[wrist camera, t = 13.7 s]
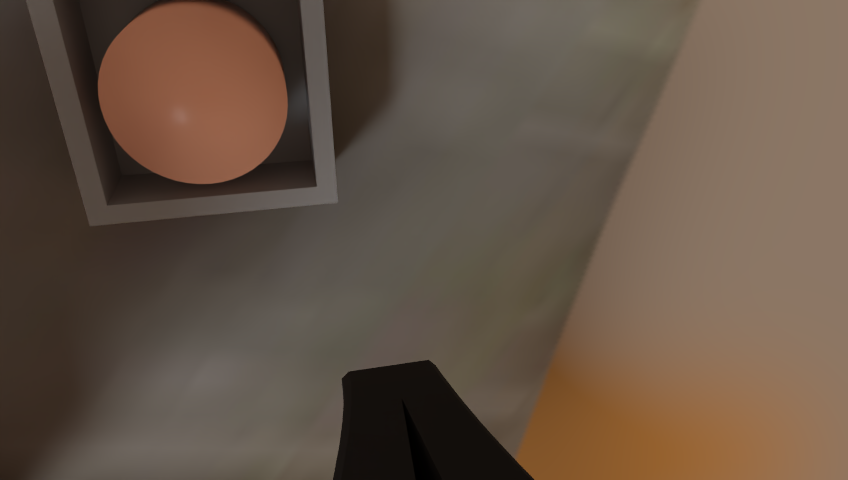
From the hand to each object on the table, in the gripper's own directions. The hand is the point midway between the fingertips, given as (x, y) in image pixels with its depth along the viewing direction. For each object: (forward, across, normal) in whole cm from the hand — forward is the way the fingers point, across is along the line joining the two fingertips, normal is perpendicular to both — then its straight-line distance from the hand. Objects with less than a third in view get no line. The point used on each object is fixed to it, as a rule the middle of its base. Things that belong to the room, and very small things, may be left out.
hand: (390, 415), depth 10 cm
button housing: (+10, +3, -3) cm, 11 cm away
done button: (+10, +3, -3) cm, 10 cm away
